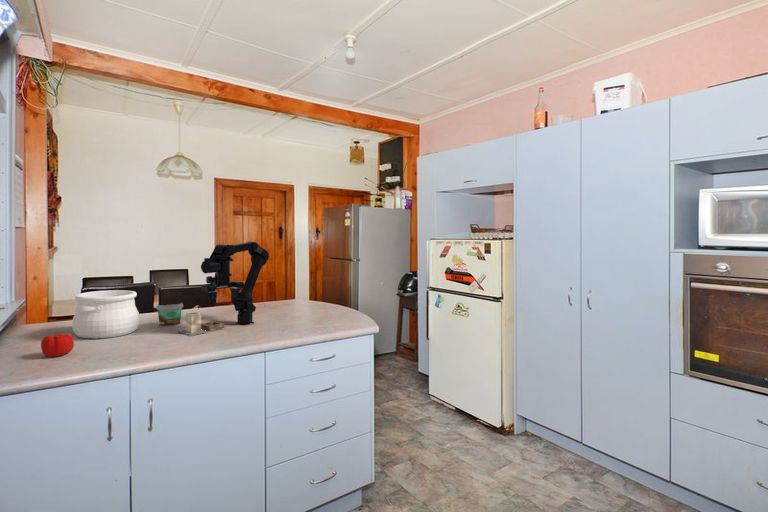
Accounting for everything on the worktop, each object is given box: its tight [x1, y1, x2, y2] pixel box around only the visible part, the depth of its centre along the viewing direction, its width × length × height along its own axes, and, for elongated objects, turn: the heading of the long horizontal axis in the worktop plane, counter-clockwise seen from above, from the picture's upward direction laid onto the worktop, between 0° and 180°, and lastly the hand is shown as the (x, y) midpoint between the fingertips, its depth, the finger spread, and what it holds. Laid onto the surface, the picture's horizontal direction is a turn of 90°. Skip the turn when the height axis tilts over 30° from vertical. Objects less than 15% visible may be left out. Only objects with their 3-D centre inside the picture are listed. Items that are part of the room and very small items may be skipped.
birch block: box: [185, 311, 202, 333], centre depth 181 cm, size 4×4×8 cm
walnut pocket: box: [201, 320, 225, 332], centre depth 188 cm, size 8×8×2 cm
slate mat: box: [178, 329, 209, 337], centre depth 181 cm, size 8×10×1 cm
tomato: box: [40, 332, 75, 358], centre depth 145 cm, size 9×9×8 cm
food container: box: [155, 301, 184, 327], centre depth 195 cm, size 12×6×10 cm, turn 143°
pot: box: [71, 289, 141, 340], centre depth 176 cm, size 26×24×18 cm
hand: (223, 304), depth 188 cm, fingers open, 9 cm apart
